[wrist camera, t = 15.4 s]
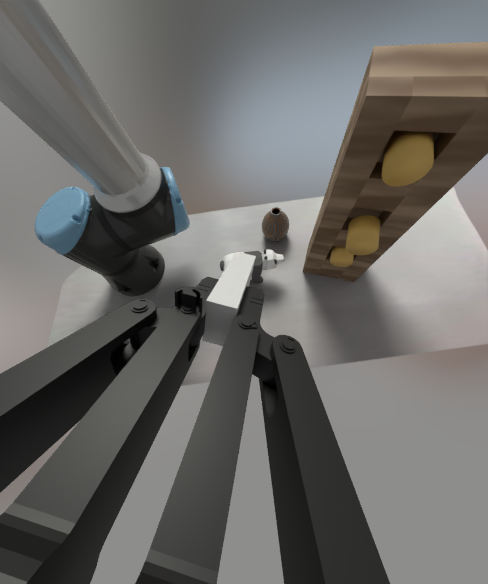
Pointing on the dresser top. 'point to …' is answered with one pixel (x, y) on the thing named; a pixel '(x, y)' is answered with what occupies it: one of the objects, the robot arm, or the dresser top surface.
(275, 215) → the vase
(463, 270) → the dresser top surface
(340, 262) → the button low
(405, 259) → the dresser top surface
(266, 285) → the dresser top surface
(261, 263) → the giant panda
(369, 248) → the button mid
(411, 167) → the button top
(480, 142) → the button column
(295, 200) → the dresser top surface
